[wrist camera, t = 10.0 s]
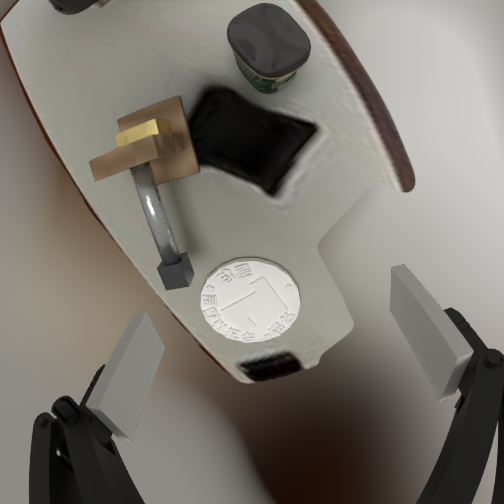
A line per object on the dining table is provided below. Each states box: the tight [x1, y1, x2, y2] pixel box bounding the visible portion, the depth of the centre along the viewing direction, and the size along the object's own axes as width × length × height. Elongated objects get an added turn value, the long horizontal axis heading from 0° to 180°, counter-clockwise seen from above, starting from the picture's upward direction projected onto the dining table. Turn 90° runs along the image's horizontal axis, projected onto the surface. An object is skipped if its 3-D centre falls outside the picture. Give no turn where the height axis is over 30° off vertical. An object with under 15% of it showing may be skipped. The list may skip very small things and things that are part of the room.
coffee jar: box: [227, 3, 311, 94], centre depth 30 cm, size 10×8×19 cm
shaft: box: [130, 161, 194, 290], centre depth 40 cm, size 21×4×4 cm, turn 14°
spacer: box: [115, 119, 173, 148], centre depth 39 cm, size 2×7×7 cm, turn 103°
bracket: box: [89, 96, 201, 185], centre depth 38 cm, size 14×12×15 cm
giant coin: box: [201, 258, 300, 343], centre depth 56 cm, size 20×20×3 cm
